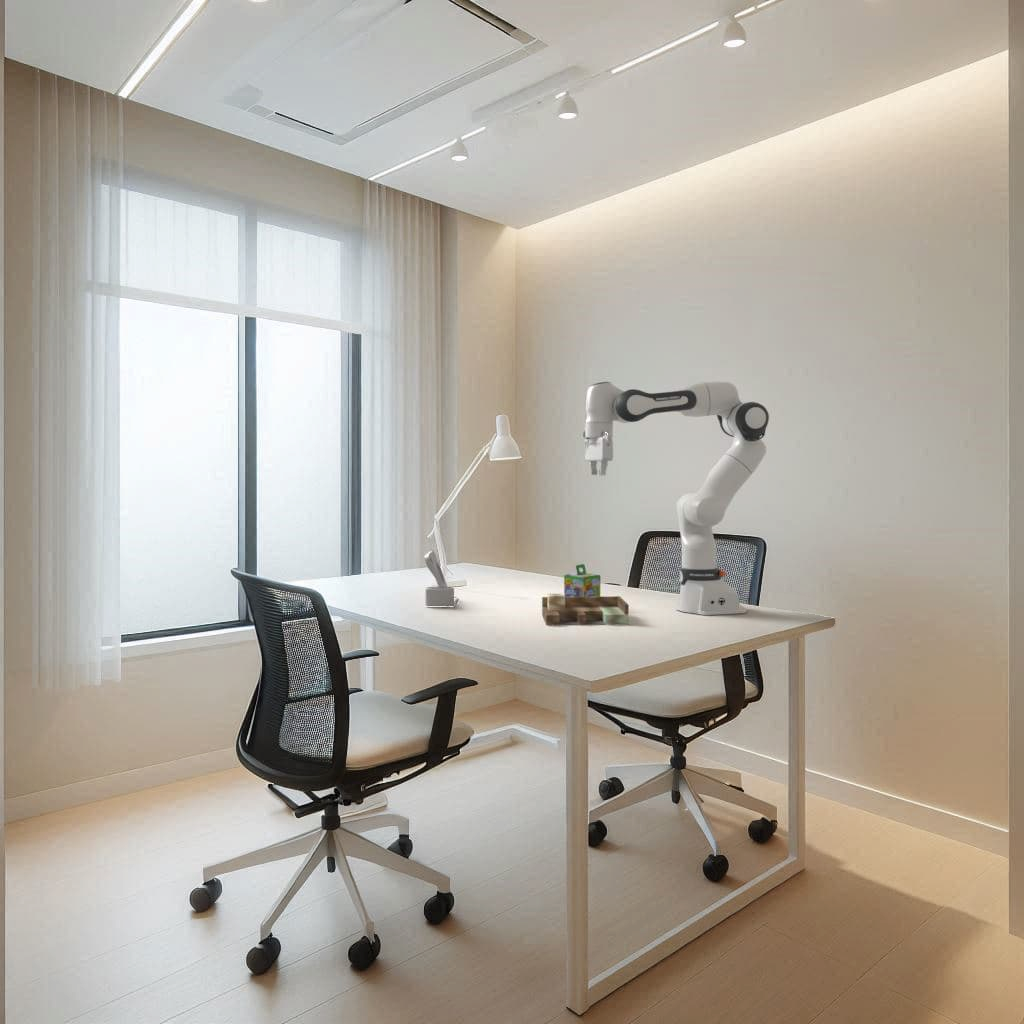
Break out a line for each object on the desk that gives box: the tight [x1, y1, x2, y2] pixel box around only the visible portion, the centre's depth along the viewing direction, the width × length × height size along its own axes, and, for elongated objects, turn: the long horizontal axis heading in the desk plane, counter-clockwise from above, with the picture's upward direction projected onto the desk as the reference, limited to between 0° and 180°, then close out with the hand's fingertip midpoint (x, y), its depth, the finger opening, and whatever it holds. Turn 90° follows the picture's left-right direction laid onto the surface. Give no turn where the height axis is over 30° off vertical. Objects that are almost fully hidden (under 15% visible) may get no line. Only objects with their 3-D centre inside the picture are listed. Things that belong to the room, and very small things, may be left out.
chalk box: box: [563, 563, 601, 597], centre depth 260 cm, size 9×9×15 cm
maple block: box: [547, 592, 565, 611], centre depth 243 cm, size 5×5×4 cm
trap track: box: [541, 595, 630, 626], centre depth 241 cm, size 25×15×6 cm, turn 92°
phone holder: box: [424, 550, 459, 606], centre depth 270 cm, size 17×10×18 cm, turn 179°
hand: (598, 475), depth 251 cm, fingers open, 8 cm apart
